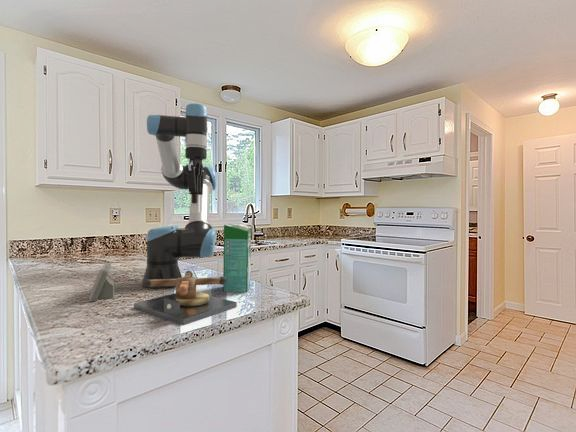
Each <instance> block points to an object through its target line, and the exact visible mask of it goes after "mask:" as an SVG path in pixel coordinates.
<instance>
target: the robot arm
mask: <svg viewBox="0 0 576 432" xmlns="http://www.w3.org/2000/svg"><path fill="white" fill-rule="evenodd" d="M184 114H185V116H177V115H176V116H175V115H174V116H173V115H163V114H148V116H146V117H147V118H146V131H147V133H148V134H149V135H152V136H155V140H156V144H157V148H158V152H159V156H160V161H161V169H160V171H161V174H162V177H163V178H164V179H165V180H166V182H168V184H169V185H171V186H172V187H174V188H176V189H180V190H188V195H190V203H189V204H190V205H189V216H188V223H187V224H186V225H185V227H184V228H181V229H180V228H179V226H178V225H168V226H162V227H155V228H150V229H149V230H148V231H147V236H146V267H145V271H144V274H143V276H142V278H141V285H142V286H141V287H144V288H146V287H145V286H144V281H145V280H146V279H151V280H153V279H177V278H180V277H183V276H182V273H181V270H180V267H179V264H178V263H179V259H180V258H181V259H182V258H184V259H185V258H186V259H189V258H190V259H191V258H192V259H193V258H194V259H195V258H200V259H203V258H210V257H212V256H213V255H214V254H215V253H214V251H215V247H216V240H217V231H216V229H214V228H213V226H212V225H211V224H210V195H211V194H212V192H213V191H215V190H216V187H217V184H216V182H217V181H216V173H215V169H214V168H213V167H211V166H204V165H203V161H204V160H206V159H207V154H208V153H207V152H208V151H207V149H206V148H207V147H208V136H207V135H208V109H207V107H206V106H205V105H203V104H202V103H200V104H199V103H189V104H187V105H186V107H185V113H184ZM176 137H179V138H180V137H181V138H184V142H185V149H184V151H185V155H184V156H185V158H186V159H188V160H189V161H188V164H186V165H182V164H181V162H180V158H179V153H178V151H179V150H178V144H177V139H176ZM165 288H167V289H168V288H174V286H158V287H149V289H165Z"/></svg>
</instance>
